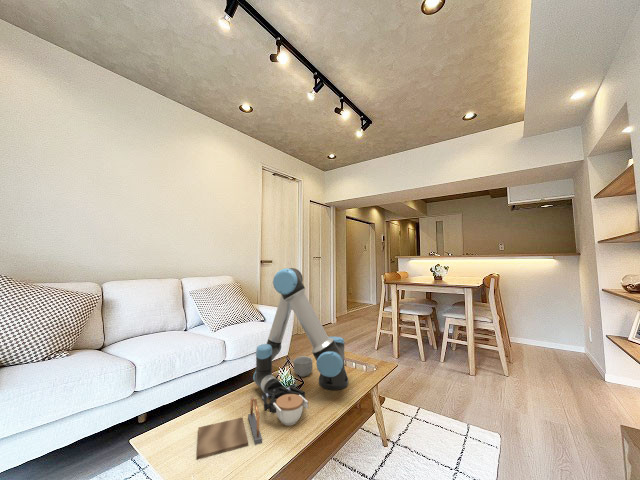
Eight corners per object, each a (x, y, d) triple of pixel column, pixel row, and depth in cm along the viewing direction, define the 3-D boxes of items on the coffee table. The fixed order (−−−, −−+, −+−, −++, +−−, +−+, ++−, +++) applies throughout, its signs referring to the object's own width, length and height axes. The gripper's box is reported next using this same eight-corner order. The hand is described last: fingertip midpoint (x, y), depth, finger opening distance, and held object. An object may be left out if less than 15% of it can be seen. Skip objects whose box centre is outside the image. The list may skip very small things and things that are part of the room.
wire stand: (254, 416, 108) (254, 413, 108) (262, 442, 92) (262, 438, 92) (248, 418, 107) (248, 414, 107) (255, 444, 91) (255, 440, 91)
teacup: (309, 379, 141) (309, 363, 142) (290, 377, 144) (290, 362, 144) (315, 369, 155) (315, 354, 156) (297, 367, 157) (297, 353, 158)
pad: (242, 420, 106) (242, 417, 106) (248, 445, 91) (248, 442, 91) (198, 430, 99) (198, 427, 99) (196, 459, 85) (196, 456, 85)
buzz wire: (252, 414, 107) (253, 389, 107) (259, 436, 93) (259, 408, 94) (250, 414, 106) (250, 390, 107) (256, 437, 93) (257, 409, 93)
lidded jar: (291, 410, 112) (291, 387, 113) (308, 420, 105) (308, 396, 106) (270, 420, 105) (270, 396, 106) (286, 433, 97) (287, 406, 98)
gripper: (294, 388, 126) (319, 410, 108) (246, 403, 114) (265, 430, 95) (294, 372, 127) (319, 391, 109) (246, 385, 114) (265, 408, 96)
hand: (294, 409), depth 102 cm, fingers closed on lidded jar, 11 cm apart
